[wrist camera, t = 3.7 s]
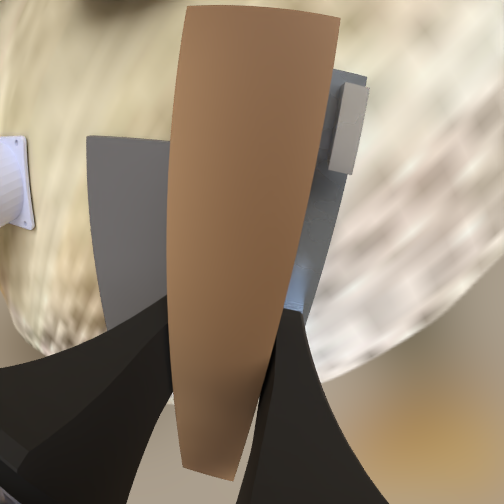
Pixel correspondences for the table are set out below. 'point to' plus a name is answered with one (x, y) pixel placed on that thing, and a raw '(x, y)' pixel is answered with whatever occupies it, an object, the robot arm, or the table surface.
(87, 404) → the robot arm
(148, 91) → the table surface
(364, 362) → the table surface
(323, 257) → the stand
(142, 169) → the mat
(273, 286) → the rail
